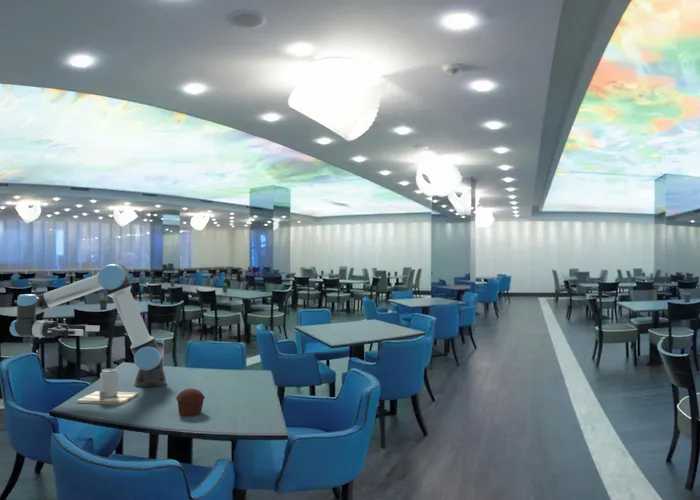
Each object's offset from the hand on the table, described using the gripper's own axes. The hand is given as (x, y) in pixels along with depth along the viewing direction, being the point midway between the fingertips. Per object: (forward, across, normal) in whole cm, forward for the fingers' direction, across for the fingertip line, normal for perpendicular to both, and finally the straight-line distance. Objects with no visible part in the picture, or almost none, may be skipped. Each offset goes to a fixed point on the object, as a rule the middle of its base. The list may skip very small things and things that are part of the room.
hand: (91, 330), depth 235 cm
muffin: (+53, +16, -31) cm, 64 cm away
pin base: (+10, +1, -31) cm, 32 cm away
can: (+10, +1, -30) cm, 31 cm away
